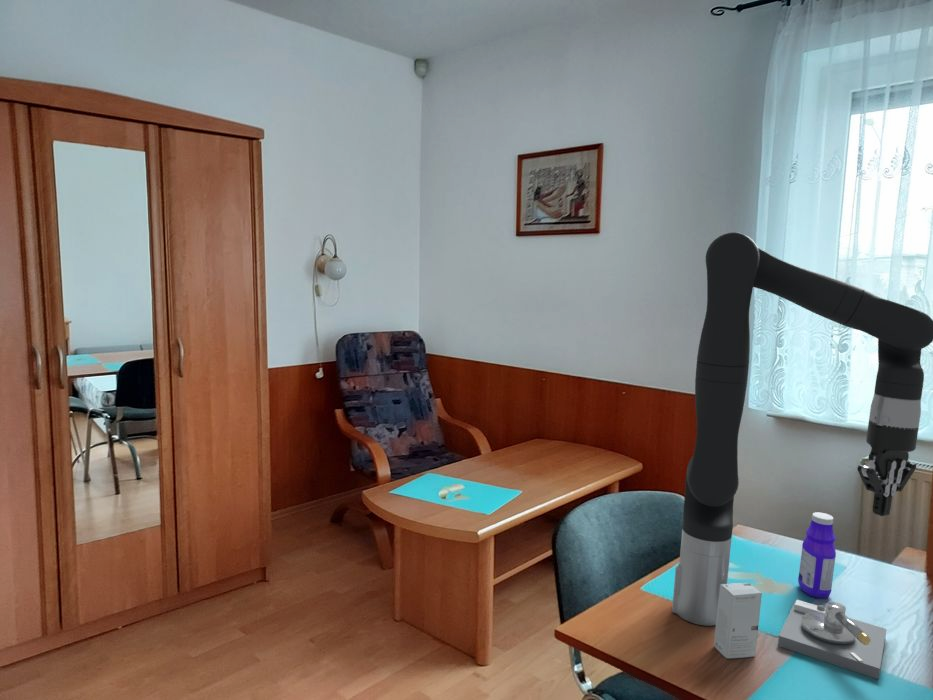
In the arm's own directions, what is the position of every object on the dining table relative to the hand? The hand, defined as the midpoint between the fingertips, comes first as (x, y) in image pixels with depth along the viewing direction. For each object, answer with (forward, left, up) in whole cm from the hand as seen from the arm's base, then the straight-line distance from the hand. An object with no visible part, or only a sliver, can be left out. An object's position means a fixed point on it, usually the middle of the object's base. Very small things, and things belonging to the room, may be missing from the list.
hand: (880, 514), depth 121 cm
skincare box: (-19, -17, -26) cm, 36 cm away
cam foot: (-4, -5, -24) cm, 25 cm away
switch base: (-5, -2, -26) cm, 26 cm away
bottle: (-11, +18, -26) cm, 34 cm away
